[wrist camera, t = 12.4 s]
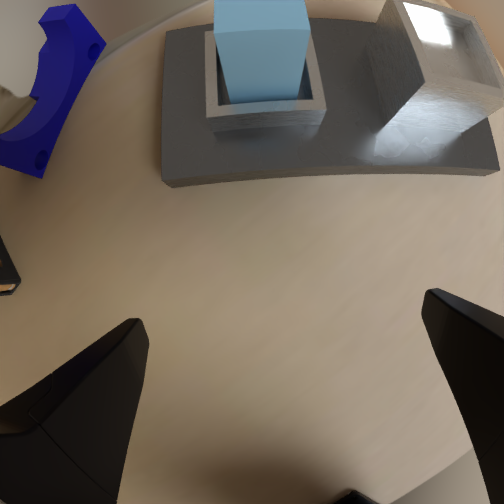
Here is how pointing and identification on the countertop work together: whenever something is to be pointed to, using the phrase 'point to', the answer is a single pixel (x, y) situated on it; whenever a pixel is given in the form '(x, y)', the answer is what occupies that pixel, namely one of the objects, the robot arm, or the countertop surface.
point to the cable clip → (52, 88)
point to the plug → (261, 48)
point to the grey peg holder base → (340, 103)
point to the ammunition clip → (7, 272)
